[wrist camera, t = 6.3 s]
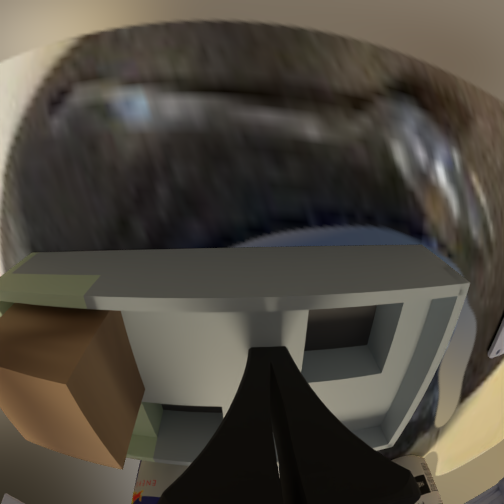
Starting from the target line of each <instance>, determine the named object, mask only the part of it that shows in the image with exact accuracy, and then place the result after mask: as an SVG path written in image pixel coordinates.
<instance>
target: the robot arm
mask: <svg viewBox="0 0 504 504" xmlns="http://www.w3.org/2000/svg"><path fill="white" fill-rule="evenodd" d="M501 354H504V318H503V320H502V323H501V325H500V328H499V330H498V332H497V334H496V337H495V339H494V341H493V343H492V345H491V347H490V349H489V351H488V356H489V357H490V358H493V357H496V356H499V355H501ZM273 435H274V437H273ZM274 440H275V444H274ZM275 445H276V450H277V456H278V463H279V471H278V465H277V458H276V452H275ZM279 475H280V478H279ZM420 497H421V491H420V489H419V486H418V484H417V482H416V480H415V478H414V476H413V475H412V473H411V471H410V470H408V469H406V468H404V467H402V466H400V465H398V464H397V463H395V462H393V461H391V460H390V459H388V458H386V457H385V456H383V455H382V454H380V453H379V452H377V451H376V450H374V449H373V448H371V447H370V446H369V445H368V444H366V443H365V442H364V441H362V440H361V439H360V438H359V437H357V436H356V435H355V434H354V433H352V432H351V431H350V430H349V429H348V428H347V427H346V426H345V425H344V424H343V423H341V422H340V421H339V420H338V419H337V417H336V416H335V415H334V414H333V413H332V412H331V411H330V410H329V409H328V408H327V407H326V406H325V404H324V403H323V402H322V401H321V400H320V398H319V397H318V396H317V395H316V393H315V392H314V391H313V389H312V388H311V387H310V385H309V384H308V382H307V381H306V379H305V378H304V377H303V375H302V374H301V372H300V370H299V369H298V367H297V365H296V364H295V362H294V360H293V358H292V357H291V355H290V353H289V350H288V348H287V347H285V346H273V347H251V348H250V349H248V358H247V363H246V367H245V370H244V374H243V377H242V379H241V382H240V385H239V387H238V390H237V392H236V395H235V397H234V399H233V401H232V403H231V405H230V407H229V409H228V411H227V413H226V415H225V417H224V419H223V420H222V422H221V424H220V425H219V427H218V429H217V430H216V432H215V433H214V435H213V436H212V438H211V439H210V441H209V442H208V443H207V445H206V446H205V447H204V449H203V450H202V451H201V453H200V454H199V455H198V456H197V457H196V459H195V460H194V461H193V462H192V463H191V464H190V466H189V467H188V468H187V469H186V470H185V471H184V472H183V473H182V474H181V475H180V476H179V477H178V478H177V479H176V480H175V481H174V482H173V483H172V484H171V485H170V486H169V487H168V488H167V489H166V490H165V491H164V492H163V493H162V495H161V497H160V499H159V501H158V503H157V504H415V503H416V502H417V501H418V500H419V499H420ZM1 504H25V503H23V502H21V501H19V500H17V499H15V498H14V497H12V496H10V495H8V494H5V495H4V498H3V500H2V503H1ZM464 504H504V478H503V479H501V480H500V481H499V482H498V483H497V484H496V485H495V486H493V487H491V488H490V489H488V490H487V491H485V492H483V493H482V494H480V495H478V496H477V497H475V498H473V499H471V500H470V501H468V502H466V503H464Z"/></svg>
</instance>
